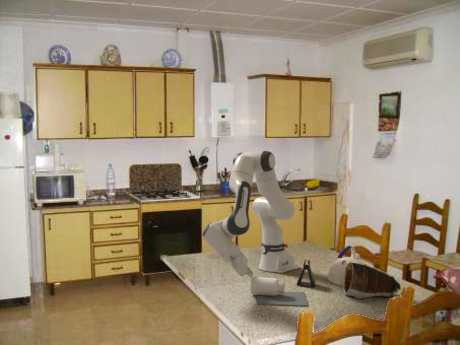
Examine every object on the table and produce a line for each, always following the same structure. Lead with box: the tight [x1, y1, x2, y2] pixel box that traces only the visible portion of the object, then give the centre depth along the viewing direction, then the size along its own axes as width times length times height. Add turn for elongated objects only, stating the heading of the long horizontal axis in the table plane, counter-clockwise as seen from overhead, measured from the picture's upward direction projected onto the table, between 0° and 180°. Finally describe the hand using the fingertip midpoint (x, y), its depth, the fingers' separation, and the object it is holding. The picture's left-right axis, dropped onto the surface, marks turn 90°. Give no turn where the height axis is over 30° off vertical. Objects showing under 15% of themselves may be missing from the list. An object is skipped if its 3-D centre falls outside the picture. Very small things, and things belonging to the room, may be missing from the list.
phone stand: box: [296, 259, 317, 288], centre depth 228 cm, size 9×6×12 cm, turn 76°
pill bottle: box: [250, 276, 286, 296], centre depth 211 cm, size 8×8×15 cm
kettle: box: [327, 245, 364, 287], centre depth 236 cm, size 20×21×18 cm
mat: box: [256, 291, 309, 307], centre depth 208 cm, size 22×16×1 cm
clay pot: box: [342, 262, 402, 300], centre depth 214 cm, size 15×15×25 cm
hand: (252, 275), depth 207 cm, fingers closed
